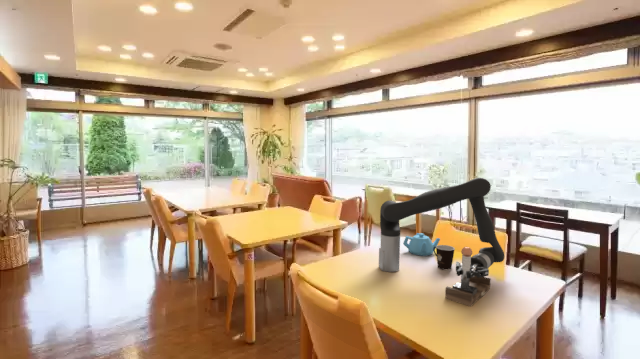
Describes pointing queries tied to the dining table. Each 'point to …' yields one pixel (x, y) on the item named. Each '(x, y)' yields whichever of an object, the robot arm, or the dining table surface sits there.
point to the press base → (468, 298)
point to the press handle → (465, 273)
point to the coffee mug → (444, 256)
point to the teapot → (420, 244)
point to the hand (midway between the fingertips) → (463, 274)
